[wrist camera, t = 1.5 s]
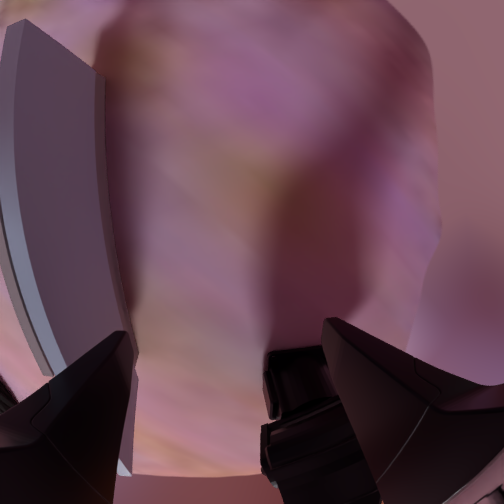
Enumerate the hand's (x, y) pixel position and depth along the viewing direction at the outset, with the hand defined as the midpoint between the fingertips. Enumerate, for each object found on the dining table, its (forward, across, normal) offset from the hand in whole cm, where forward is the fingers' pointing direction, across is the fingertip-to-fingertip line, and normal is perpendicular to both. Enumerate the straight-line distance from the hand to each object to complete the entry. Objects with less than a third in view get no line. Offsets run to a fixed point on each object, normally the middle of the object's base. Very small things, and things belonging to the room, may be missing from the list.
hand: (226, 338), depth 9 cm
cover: (+5, +8, 0) cm, 9 cm away
